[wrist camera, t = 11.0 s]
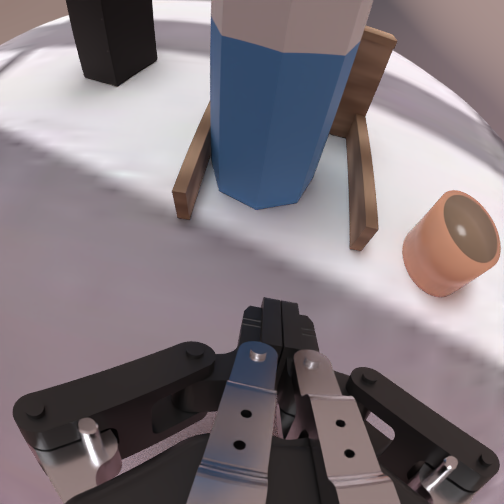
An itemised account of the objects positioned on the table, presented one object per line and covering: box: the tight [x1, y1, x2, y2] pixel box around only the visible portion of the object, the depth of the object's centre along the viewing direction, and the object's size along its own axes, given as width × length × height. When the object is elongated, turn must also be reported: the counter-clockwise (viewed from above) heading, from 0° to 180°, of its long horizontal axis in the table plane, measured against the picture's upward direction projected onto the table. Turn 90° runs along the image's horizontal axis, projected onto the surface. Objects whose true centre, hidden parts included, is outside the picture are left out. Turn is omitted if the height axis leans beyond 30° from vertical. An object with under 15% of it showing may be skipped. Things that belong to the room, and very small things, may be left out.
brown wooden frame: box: [172, 26, 397, 251], centre depth 22 cm, size 15×15×13 cm
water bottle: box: [210, 0, 373, 210], centre depth 16 cm, size 9×9×25 cm
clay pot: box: [402, 190, 501, 297], centre depth 22 cm, size 7×7×6 cm
